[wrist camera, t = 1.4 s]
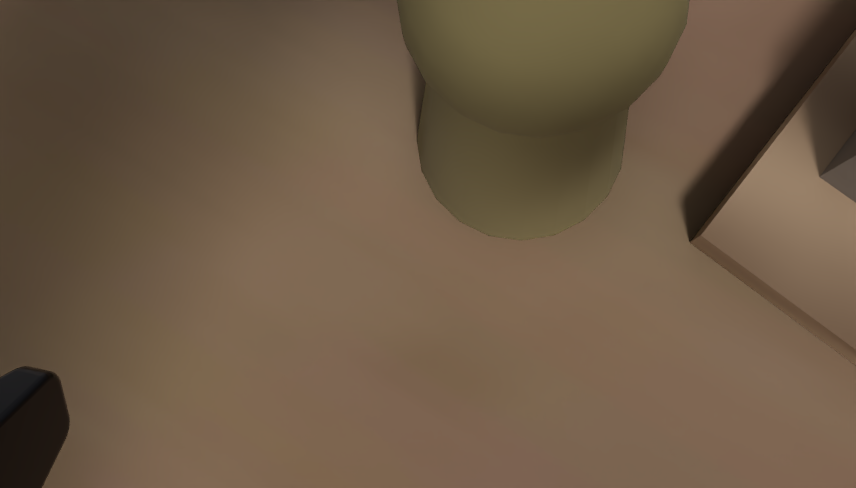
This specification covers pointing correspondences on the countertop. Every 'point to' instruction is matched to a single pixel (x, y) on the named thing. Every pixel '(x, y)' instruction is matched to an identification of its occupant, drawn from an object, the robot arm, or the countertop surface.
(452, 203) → the cork
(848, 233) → the slab
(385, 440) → the countertop surface
